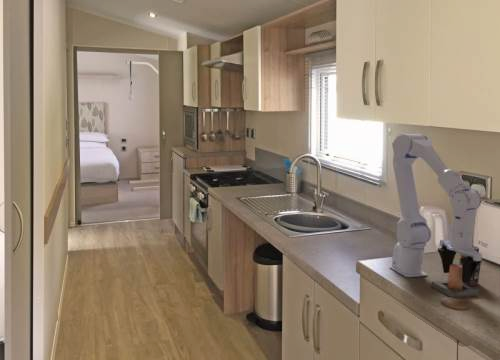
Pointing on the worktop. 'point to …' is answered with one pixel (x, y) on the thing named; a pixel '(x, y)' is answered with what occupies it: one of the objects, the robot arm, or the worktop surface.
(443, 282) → the eye block
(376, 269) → the worktop surface
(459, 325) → the worktop surface
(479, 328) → the worktop surface
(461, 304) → the coaster
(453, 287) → the peg
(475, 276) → the supplement bottle
